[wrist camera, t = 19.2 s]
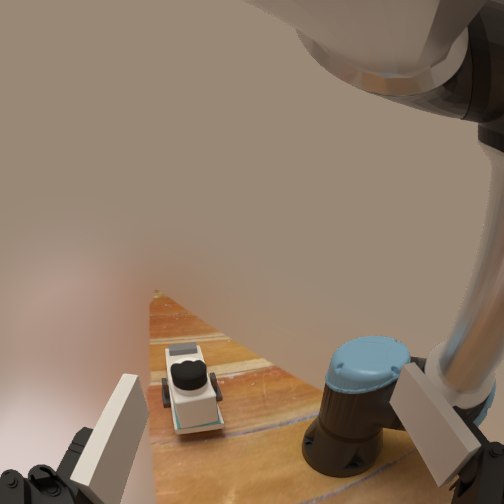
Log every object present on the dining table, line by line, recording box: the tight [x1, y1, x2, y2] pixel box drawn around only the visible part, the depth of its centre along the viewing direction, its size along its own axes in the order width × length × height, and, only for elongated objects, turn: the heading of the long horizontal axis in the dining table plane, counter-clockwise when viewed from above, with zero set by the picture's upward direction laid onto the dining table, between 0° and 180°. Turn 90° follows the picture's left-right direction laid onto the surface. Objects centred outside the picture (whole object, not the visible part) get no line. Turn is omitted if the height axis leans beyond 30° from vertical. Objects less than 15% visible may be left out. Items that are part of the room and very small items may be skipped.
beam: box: [165, 342, 224, 434], centre depth 54 cm, size 28×9×3 cm, turn 18°
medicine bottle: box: [168, 357, 219, 428], centre depth 43 cm, size 7×7×12 cm
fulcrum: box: [162, 373, 222, 408], centre depth 55 cm, size 6×13×5 cm, turn 108°
